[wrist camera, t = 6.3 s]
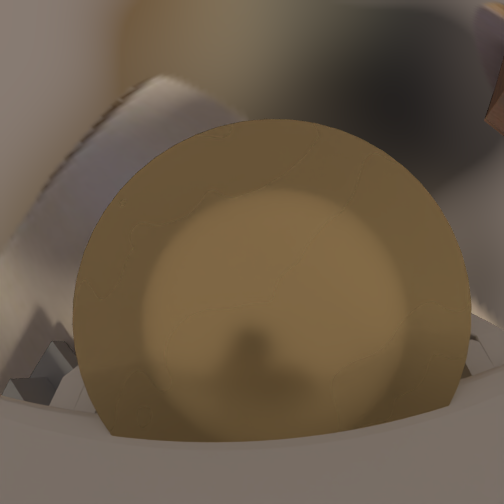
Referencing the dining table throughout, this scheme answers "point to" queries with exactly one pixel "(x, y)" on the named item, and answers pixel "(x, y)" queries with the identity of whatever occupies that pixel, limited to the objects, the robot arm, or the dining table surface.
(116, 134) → the dining table surface
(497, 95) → the tissue box cover
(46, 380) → the socket block
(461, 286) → the gold stepped cylinder
